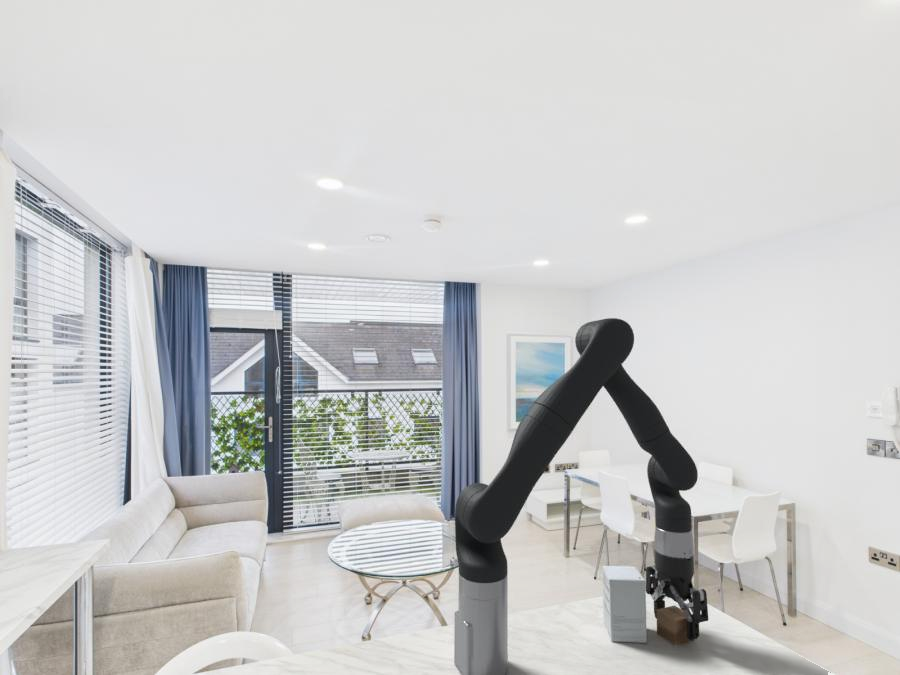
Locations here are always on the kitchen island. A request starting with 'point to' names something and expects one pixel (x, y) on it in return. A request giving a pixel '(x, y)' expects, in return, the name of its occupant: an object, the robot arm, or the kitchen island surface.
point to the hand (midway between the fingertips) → (675, 628)
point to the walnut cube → (672, 625)
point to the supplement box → (624, 604)
